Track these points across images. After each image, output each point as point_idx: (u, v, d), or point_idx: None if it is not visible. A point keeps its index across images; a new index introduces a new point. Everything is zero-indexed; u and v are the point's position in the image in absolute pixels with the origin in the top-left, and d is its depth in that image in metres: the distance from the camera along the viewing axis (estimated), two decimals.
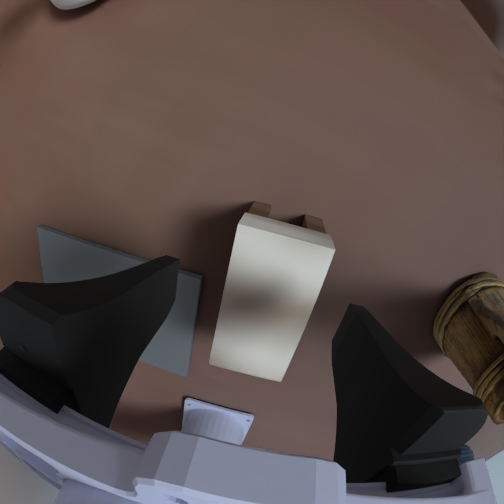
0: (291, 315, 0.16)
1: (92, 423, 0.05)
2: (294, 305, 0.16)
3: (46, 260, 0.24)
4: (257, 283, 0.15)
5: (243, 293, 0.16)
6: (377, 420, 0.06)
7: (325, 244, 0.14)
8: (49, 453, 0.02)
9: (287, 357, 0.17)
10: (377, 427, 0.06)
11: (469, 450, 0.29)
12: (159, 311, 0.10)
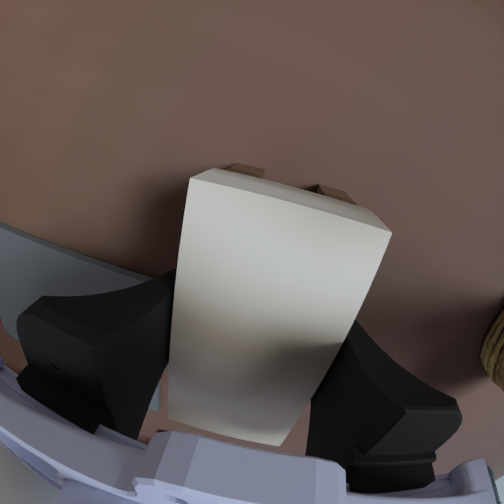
0: (300, 359, 0.08)
1: None
2: (306, 342, 0.08)
3: None
4: (233, 300, 0.08)
5: (209, 318, 0.08)
6: (343, 417, 0.06)
7: (370, 222, 0.07)
8: (49, 453, 0.02)
9: (290, 418, 0.09)
10: (343, 424, 0.06)
11: (490, 471, 0.21)
12: None
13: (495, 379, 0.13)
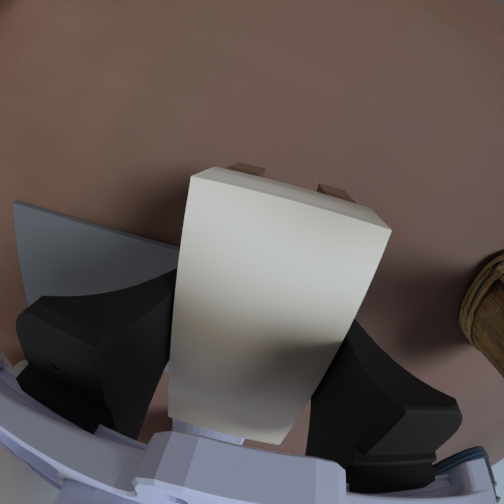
0: (300, 356, 0.08)
1: None
2: (307, 340, 0.08)
3: (21, 240, 0.20)
4: (234, 298, 0.08)
5: (210, 316, 0.08)
6: (343, 417, 0.06)
7: (370, 219, 0.07)
8: (49, 453, 0.02)
9: (290, 416, 0.10)
10: (343, 425, 0.06)
11: (484, 452, 0.25)
12: None
13: (474, 342, 0.17)
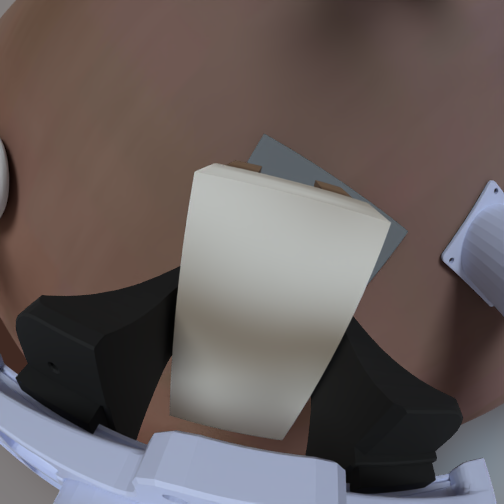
0: (303, 349, 0.08)
1: None
2: (309, 333, 0.08)
3: None
4: (237, 292, 0.08)
5: (213, 311, 0.08)
6: (344, 417, 0.06)
7: (369, 213, 0.07)
8: (49, 453, 0.02)
9: (293, 411, 0.10)
10: (344, 425, 0.06)
11: None
12: None
13: None
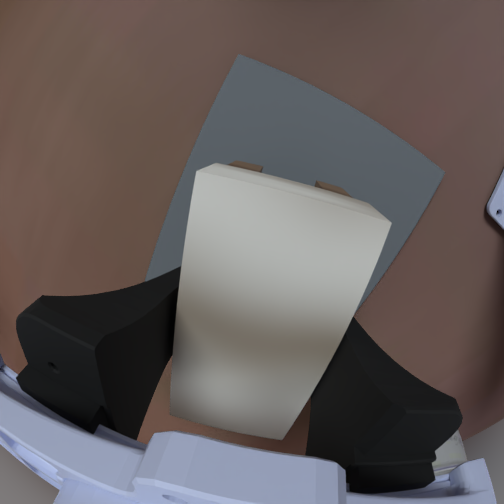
0: (303, 349, 0.08)
1: None
2: (310, 332, 0.08)
3: None
4: (238, 292, 0.08)
5: (214, 311, 0.08)
6: (343, 417, 0.06)
7: (370, 213, 0.07)
8: (49, 453, 0.02)
9: (293, 410, 0.10)
10: (343, 424, 0.06)
11: None
12: None
13: None
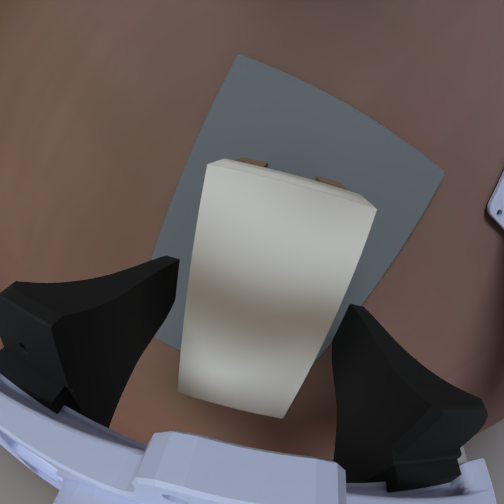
0: (301, 324, 0.10)
1: (92, 423, 0.05)
2: (307, 308, 0.09)
3: (180, 339, 0.18)
4: (242, 270, 0.09)
5: (221, 287, 0.09)
6: (377, 420, 0.06)
7: (358, 201, 0.08)
8: (49, 453, 0.02)
9: (293, 387, 0.11)
10: (377, 427, 0.06)
11: None
12: (159, 311, 0.10)
13: None
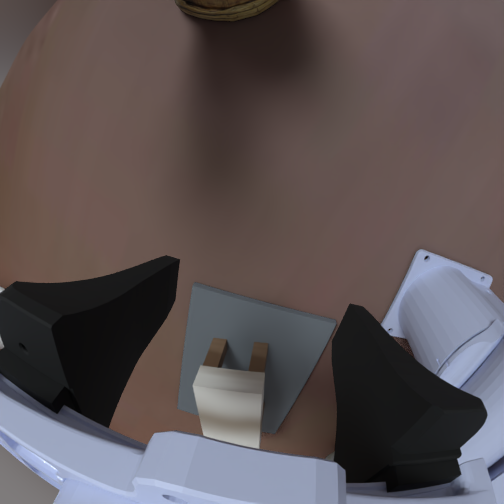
0: (247, 425, 0.20)
1: (92, 423, 0.05)
2: (247, 420, 0.20)
3: None
4: (217, 411, 0.20)
5: (212, 416, 0.20)
6: (377, 420, 0.06)
7: (255, 389, 0.19)
8: (49, 453, 0.02)
9: (256, 443, 0.21)
10: (377, 427, 0.06)
11: None
12: (159, 311, 0.10)
13: None
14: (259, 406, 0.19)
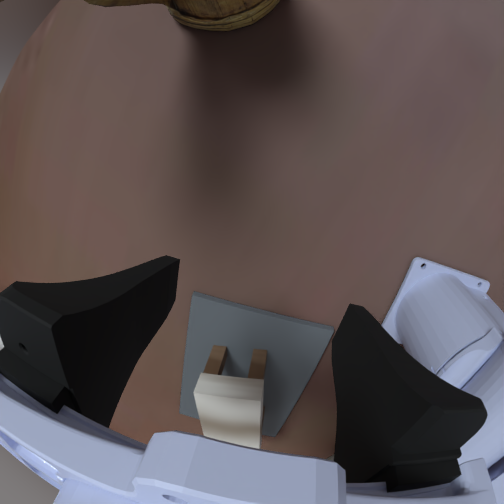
0: (247, 430, 0.21)
1: (91, 423, 0.05)
2: (247, 426, 0.20)
3: None
4: (218, 417, 0.20)
5: (212, 421, 0.21)
6: (377, 420, 0.06)
7: (254, 396, 0.19)
8: (49, 453, 0.02)
9: (256, 447, 0.22)
10: (377, 427, 0.06)
11: None
12: (159, 311, 0.10)
13: None
14: (258, 412, 0.19)
